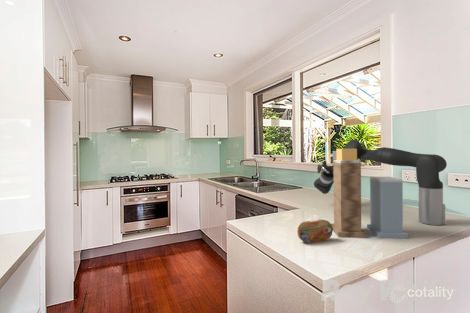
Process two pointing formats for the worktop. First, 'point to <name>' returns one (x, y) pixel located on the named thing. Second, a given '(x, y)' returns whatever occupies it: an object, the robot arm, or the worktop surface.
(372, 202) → the grey block stand
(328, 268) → the worktop surface
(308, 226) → the tin
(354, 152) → the block
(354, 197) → the post
